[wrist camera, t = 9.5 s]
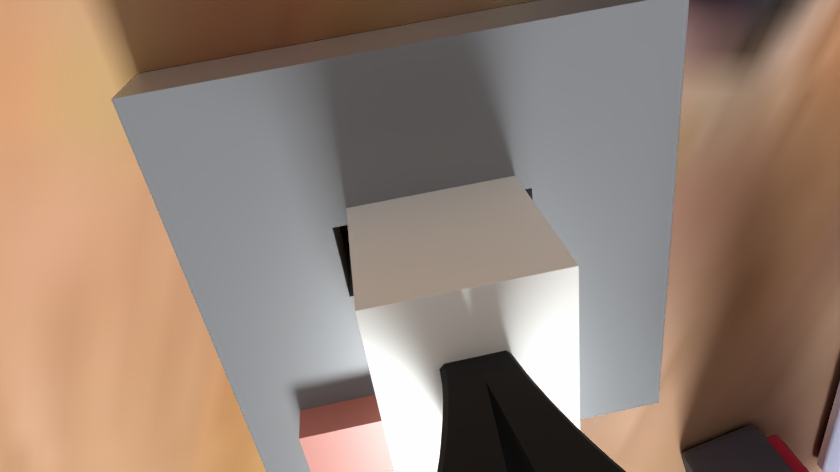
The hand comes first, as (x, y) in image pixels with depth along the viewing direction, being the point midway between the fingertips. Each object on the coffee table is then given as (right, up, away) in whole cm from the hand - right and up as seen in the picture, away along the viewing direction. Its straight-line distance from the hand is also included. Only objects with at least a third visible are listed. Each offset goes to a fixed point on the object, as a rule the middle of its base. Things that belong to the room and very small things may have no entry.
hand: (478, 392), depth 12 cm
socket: (-1, +3, +5) cm, 6 cm away
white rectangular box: (-1, +3, +5) cm, 6 cm away
